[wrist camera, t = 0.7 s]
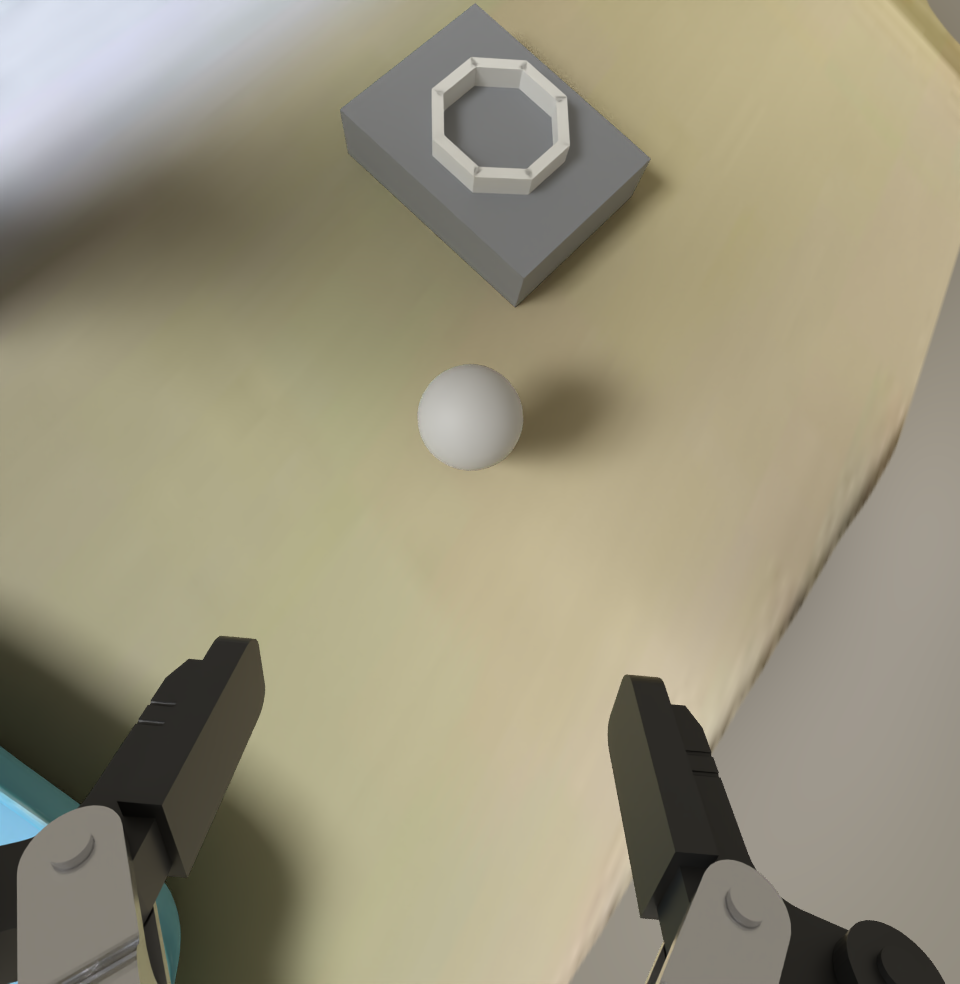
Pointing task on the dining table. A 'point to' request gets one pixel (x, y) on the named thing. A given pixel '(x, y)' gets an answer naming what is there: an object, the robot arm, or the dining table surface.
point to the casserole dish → (36, 802)
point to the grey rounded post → (470, 417)
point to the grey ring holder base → (492, 152)
